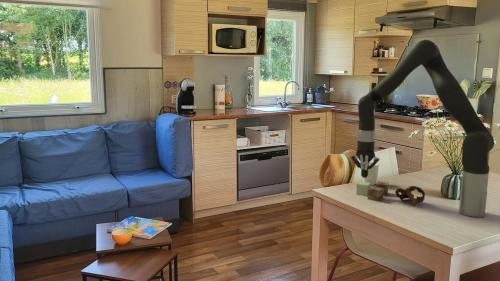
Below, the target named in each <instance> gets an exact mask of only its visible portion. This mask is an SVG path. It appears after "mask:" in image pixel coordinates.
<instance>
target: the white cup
mask: <svg viewBox="0 0 500 281" xmlns="http://www.w3.org/2000/svg"><path fill="white" fill-rule="evenodd" d="M373 162H374V161H372V162H371V161H370V164H369V166H370V165H371V164H372V163H373ZM379 166H380V165H379V162H377V163H376V164H375V165H374V167H373V168H371V169H369V170H368V176H367V177H366V178H363V177H362V176H361V177H362V181H361V182H367V183H371V186H376V185H375V184H376V183H377V181H378V174H379Z"/></svg>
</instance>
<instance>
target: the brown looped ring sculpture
mask: <svg viewBox="0 0 500 281" xmlns="http://www.w3.org/2000/svg"><path fill="white" fill-rule="evenodd" d="M413 191H417V192H418V193H419V194H421V196H416V198H415V194H413V193H412V192H413ZM394 193H395V195H396V197H397V198H399V200H400V201H403V200H404V199H408V200H411V202H410V205H411V206H413V207H414V206H416V205H418V204H420V203H423V202H424V201H425V200H426V199H425V196H426V193H425V191H424V190H423V189H422V188H421V187H419V186H416V185H410V186H408V187H407V188H405V189H404V188H400V187H399V188H397V189H396V190H395V192H394Z"/></svg>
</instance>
